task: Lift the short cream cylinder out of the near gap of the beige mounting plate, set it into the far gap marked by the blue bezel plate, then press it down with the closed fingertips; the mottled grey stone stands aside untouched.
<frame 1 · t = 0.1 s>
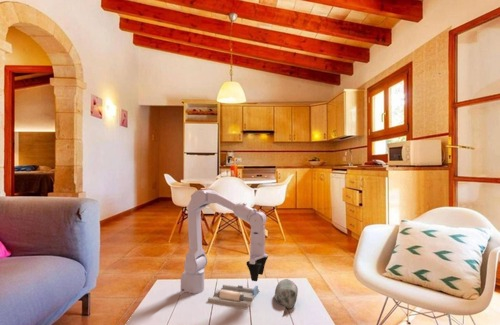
hand: (257, 277, 118), 10 cm above the table, fingers open, 7 cm apart
cream cylinder: (230, 300, 116), point 1 cm above the table, touching beige mounting plate
beige mounting plate: (234, 300, 120), on the table
mottled grey stone: (286, 303, 118), on the table
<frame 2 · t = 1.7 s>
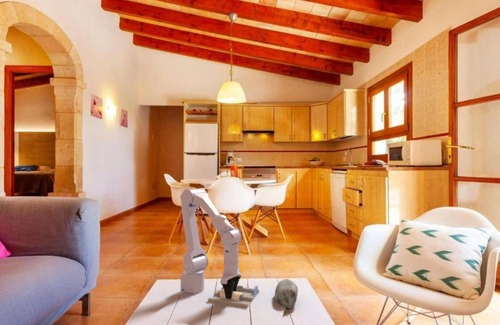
hand: (230, 296, 116), 3 cm above the table, fingers closed on cream cylinder, 4 cm apart
cream cylinder: (230, 300, 116), point 1 cm above the table, touching beige mounting plate, gripper
everything else where it was.
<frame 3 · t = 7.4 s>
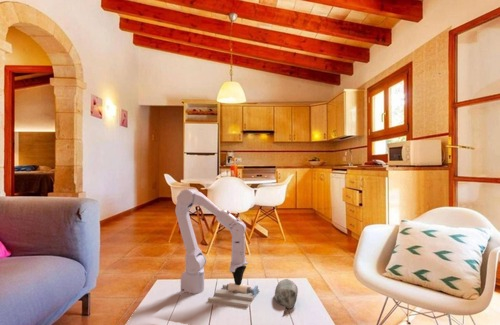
hand: (238, 284, 124), 5 cm above the table, fingers closed, pressing on cream cylinder
cream cylinder: (238, 293, 123), point 1 cm above the table, touching beige mounting plate, gripper
everything else where it was.
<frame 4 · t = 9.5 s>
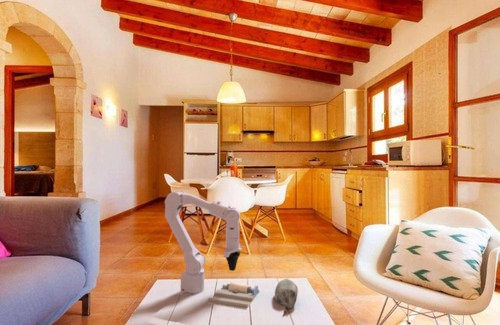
hand: (232, 270, 126), 10 cm above the table, fingers closed
cream cylinder: (238, 292, 123), point 2 cm above the table, tilted 12°, touching beige mounting plate
everything else where it was.
at the end: cream cylinder inside the target area on the beige mounting plate (0.3 cm from its centre), point 1.5 cm above the beige mounting plate's base; the gripper is holding nothing; cream cylinder touching beige mounting plate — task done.
